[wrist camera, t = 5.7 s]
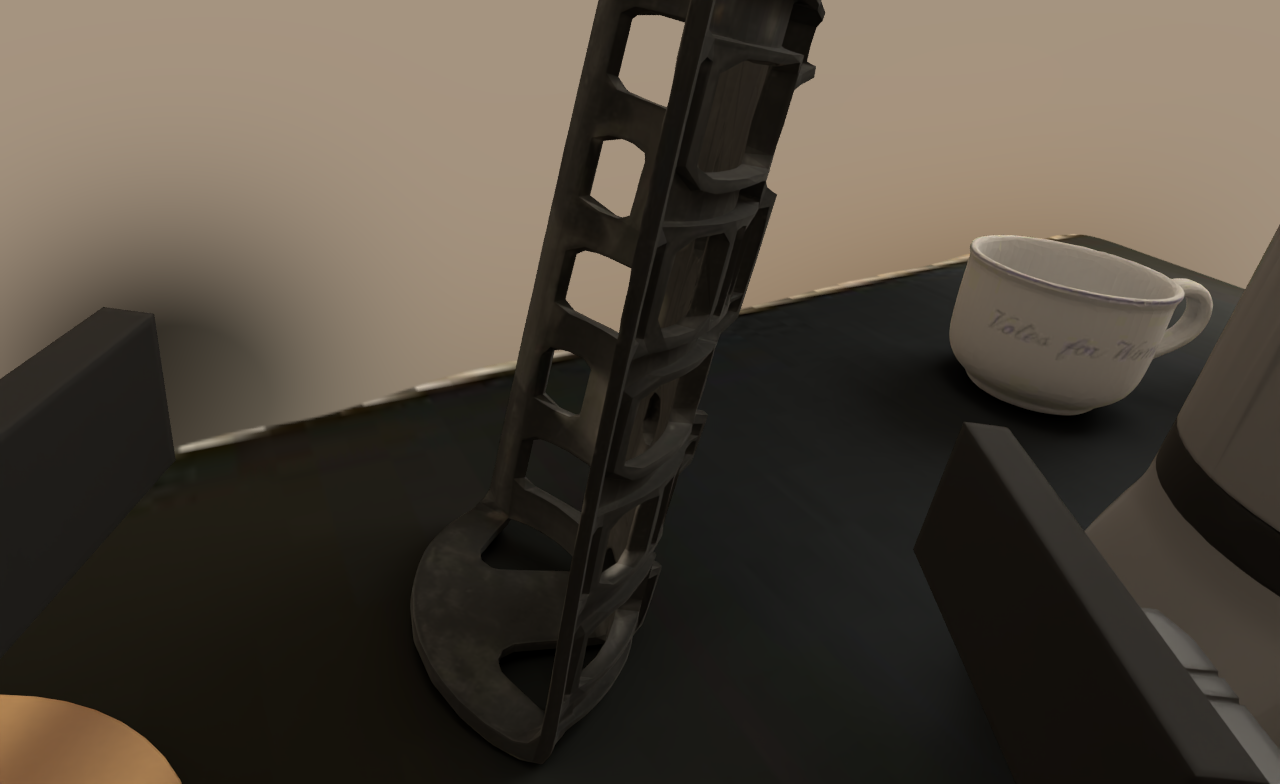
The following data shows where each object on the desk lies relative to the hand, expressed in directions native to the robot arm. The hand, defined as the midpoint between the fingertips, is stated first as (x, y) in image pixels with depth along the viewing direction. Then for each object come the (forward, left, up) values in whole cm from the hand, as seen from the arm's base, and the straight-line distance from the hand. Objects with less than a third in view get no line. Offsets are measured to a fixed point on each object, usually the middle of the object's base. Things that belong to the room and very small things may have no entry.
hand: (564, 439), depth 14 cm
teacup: (-27, -31, -13) cm, 43 cm away
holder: (0, -9, -13) cm, 15 cm away
